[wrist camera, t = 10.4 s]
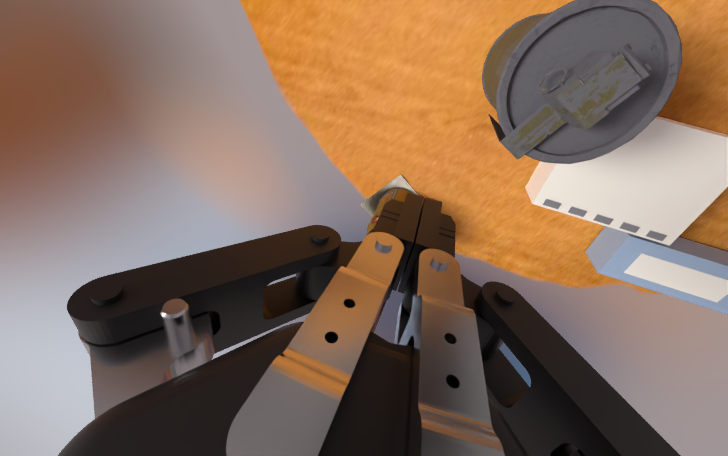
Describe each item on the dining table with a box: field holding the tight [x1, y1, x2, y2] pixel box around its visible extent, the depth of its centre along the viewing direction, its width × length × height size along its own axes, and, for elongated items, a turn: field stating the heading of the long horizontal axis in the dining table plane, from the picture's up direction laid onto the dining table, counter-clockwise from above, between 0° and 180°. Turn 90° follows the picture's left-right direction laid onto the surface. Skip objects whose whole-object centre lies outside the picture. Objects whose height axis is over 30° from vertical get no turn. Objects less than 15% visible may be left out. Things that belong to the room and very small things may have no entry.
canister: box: [482, 0, 682, 164], centre depth 27 cm, size 11×10×20 cm
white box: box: [525, 116, 728, 246], centre depth 35 cm, size 12×16×5 cm
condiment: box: [361, 175, 423, 235], centre depth 43 cm, size 7×8×12 cm
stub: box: [585, 226, 728, 315], centre depth 39 cm, size 6×16×5 cm, turn 78°
